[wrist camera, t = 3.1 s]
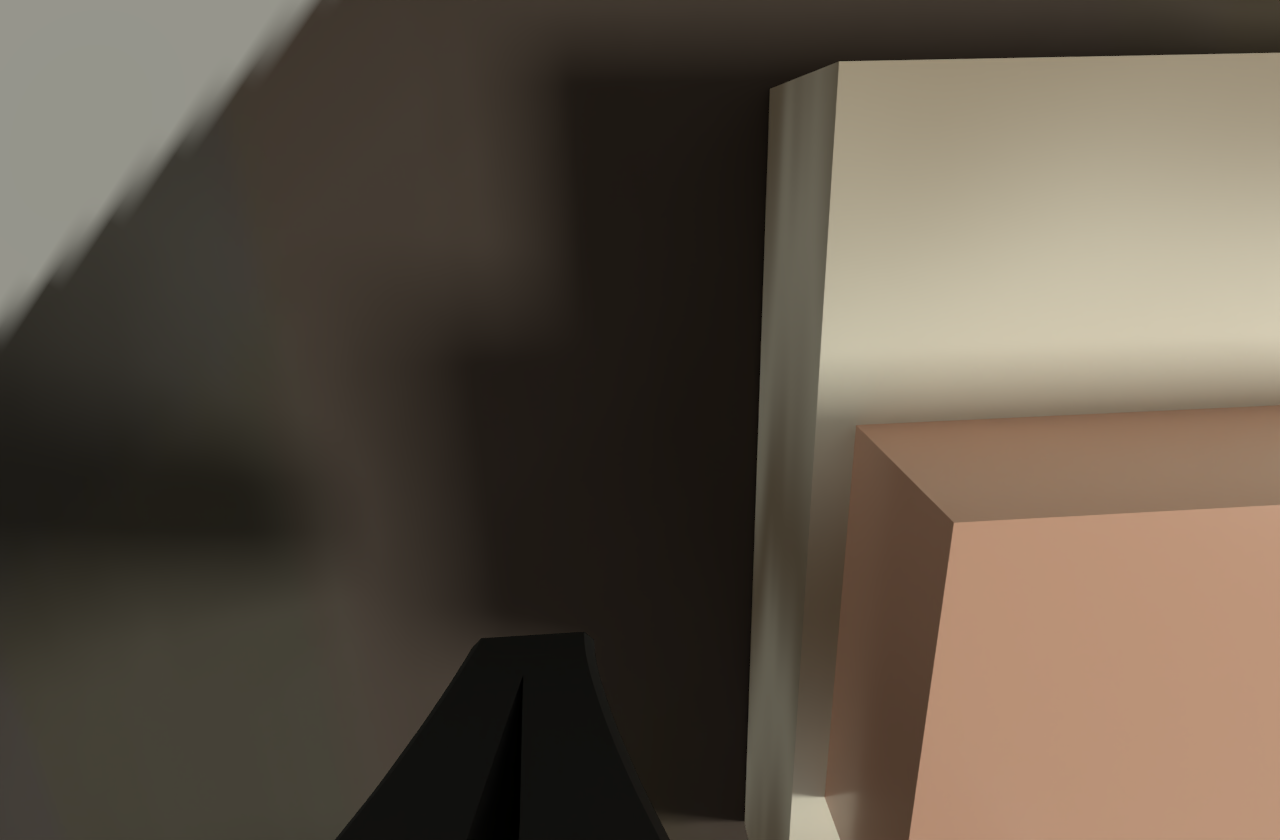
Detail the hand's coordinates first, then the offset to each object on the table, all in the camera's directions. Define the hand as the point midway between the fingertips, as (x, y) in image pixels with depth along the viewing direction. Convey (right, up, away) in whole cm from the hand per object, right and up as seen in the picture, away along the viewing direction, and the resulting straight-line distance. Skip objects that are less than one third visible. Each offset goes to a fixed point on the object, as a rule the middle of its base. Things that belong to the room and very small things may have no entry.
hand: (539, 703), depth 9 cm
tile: (+8, +1, +1) cm, 8 cm away
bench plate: (+8, +2, +4) cm, 9 cm away
